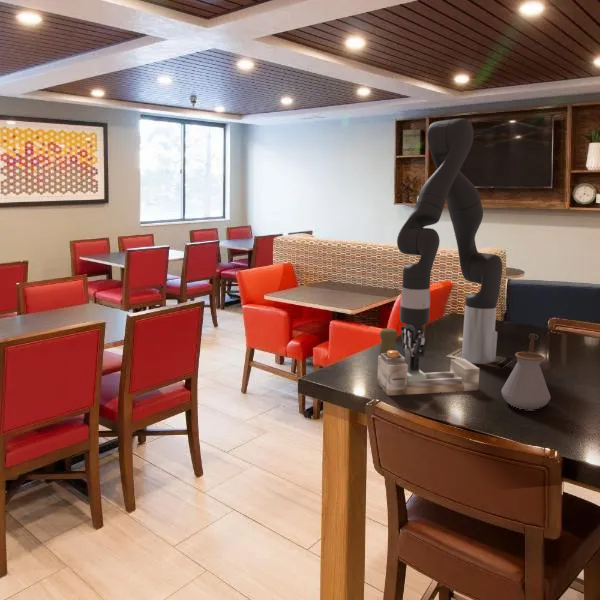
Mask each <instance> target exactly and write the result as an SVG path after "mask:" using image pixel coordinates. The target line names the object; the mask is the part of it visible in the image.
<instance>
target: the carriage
mask: <svg viewBox="0 0 600 600" xmlns="http://www.w3.org/2000/svg"><path fill="white" fill-rule="evenodd" d="M414 349H415V348H414ZM404 358H405V363H406V364H407V365H408V371H407V381H408V382H411V381H426V377H427V375H426V374H425V373H426V372H424V371H422V370H421V369H420V366H421V359H420V360H419V370H418V371H412V370H411V369H410V363H411V348H406V350H405V349H404Z"/></svg>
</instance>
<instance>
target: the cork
mask: <svg viewBox="0 0 600 600" xmlns="http://www.w3.org/2000/svg"><path fill="white" fill-rule="evenodd" d="M379 337H380V340H381V341H380V342H381V343H380V346H379V353H378V356H381V354H383V353H387V351H390V350H394V351H397V345H396V344H397V343H396V340H397V339H398V332H397V330H396V329H394V328H390V327H389V328H383V329H381V330H380V332H379Z"/></svg>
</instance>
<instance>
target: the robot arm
mask: <svg viewBox="0 0 600 600" xmlns="http://www.w3.org/2000/svg"><path fill="white" fill-rule="evenodd" d="M473 128H474V127H473V125H472V123H471V122H470V120H468V119H467V118H453V119H446V120H439V121H438V120H437V121H434V122H432V123H431V124H430V125H429V127H428V128H427V133H426V134H427V135H426V136H427V139H426V140H427V145H428V149H429V152H430V155H431V158H432V161H433V163H434V166H435V168H436V170H435V171H434V172H433V173H432V175H431V176H430V177H429V178H428V179H427V180H426V181H425V183H424V184H423V185H422V187H421V189H420V191H419V194H418V198H417V199H416V202H415V206H414V209H413V210H412V212H411V213H410V215H409V217H408V218H407V219H406V221H405V222H404V224H403V225H402V227H401V229H400V230H399V232H398V235H397V239H396V244H397V248H398V251H400V253H402V254H404V255H410V256H411V255H413V256H420V258H419V260H418V261H417V263H416V262H415V263H410V264H406V265H405V266H404V267H403V269H402V287H401V292H400V307H399V308H400V309H399V321H400V322H401V323H402V324H404V326H400V336H401V343H402V344H401V345H402V348H403V349H404V351H405V350H406V348H411V363H410V369H411V370H412V371H418V370H419V360H420V361H421V357H424V356H425V352H426V349H427V345H428V341H429V340H428V337H426V336H425V335H424V333H425V332H424V328H423V327H424V325H427V324H428V323H429V322H430V311H431V307H430V306H431V289H430V288H431V275H432V273H431V272H432V269H433V265H434V262H435V259H436V257H437V253H438V250H439V248H440V240H441V239H440V236H439V234H438V232H437V230H436V229H434V228H430V227H428V226H433V225H436V224H438V223H439V221H440V219H441V216H442V214H443V210H444V208H445V205H446V207H447V210H448V213H449V217H450V220H451V224H452V228H453V232H454V236H455V241H456V245H457V251H458V252H457V253H458V257H459V258H458V259H459V265H460V270H461V274H462V276H463V278H464V279H465V280H466V281H467V282H469V283H475V284H480V285H481V286H480V290H479V291H478V292H474V293H470V294H468V295H466V296H465V302H464V317H463V328H462V329H463V333H462V334H463V335H462V346H461V359H465V360H467V361H468V362H470V363H472V364H474V365H477V364H478V365H487V364H491V363H496V354H497V342H498V331H496V320H497V319H496V318H497V307H498V305H497V304H498V300H499V297H500V292H501V291H500V290H501V283H502V277H503V261H502V259H501V257H500V256H499V255H498V254H494V253H485V252H479V251H478V249H477V245H476V235H477V232H478V230H479V228H480V226H481V224H482V222H483V221H482V220H483V218H484V210H483V208H484V207H483V205H482V200H481V196H480V192H479V191H478V189H477V187H476V186H475V185H474V184H473V183H472V182H471V181H470V180H469V178H467V177H466V176H465V175H464V174H463V172H462V171H461V169H462V167H463V164H464V162H465V160H466V159H467V156H468V154H469V153H470V151H471V148H472V146H473V141H474V137H475V136H474V129H473ZM414 348H415V349H414Z"/></svg>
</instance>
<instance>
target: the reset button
mask: <svg viewBox="0 0 600 600" xmlns="http://www.w3.org/2000/svg"><path fill="white" fill-rule="evenodd" d="M399 353H400V352H399V351H398V350H396V351H394V350H390V351H387V358H399Z"/></svg>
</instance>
